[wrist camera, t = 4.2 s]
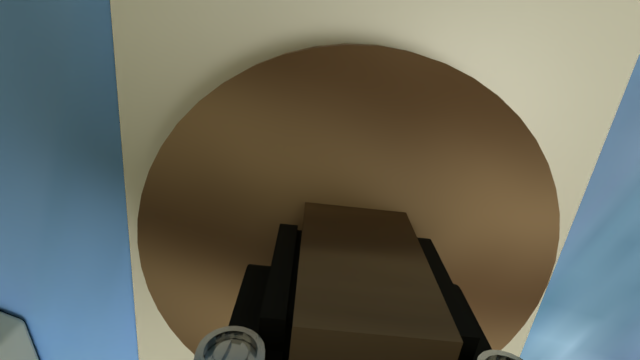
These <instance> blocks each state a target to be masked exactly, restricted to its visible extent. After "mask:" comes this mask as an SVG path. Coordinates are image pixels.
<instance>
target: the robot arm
mask: <svg viewBox="0 0 640 360" xmlns="http://www.w3.org/2000/svg"><path fill="white" fill-rule="evenodd" d="M301 237H302V230H298V225H290V224H280V226H279V230H278V235H277V239H276V244H275V249H274V253H273V258H272V262H271V266H264V265H254V264H248V265H247V268H246V271H245V274H244V277H243V281H242V284H241V287H240V290H239V293H238V296H237V300H236V303H235V306H234V309H233V312H232V316H231V319H230V322H229V325H228V326H225V327H222V328H219V329H216V330H214V331H212V332H211V333H209V334H207V335H206V336H205V337H204V338H203V339H202V340H201V341H200V343H199V345H198V347H197V349H196V352H195V356H194V360H289V352H290V343H291V334H292V325H293V315H294V305H295V296H296V286H297V276H298V266H299V256H300V247H301ZM417 238H418V237H417ZM418 241H419V243H420V245H421V248H422V250H423V252H424V254H425V257H426V259H427V261H428V263H429V266H430V268H431V270H432V273H433V275H434V277H435V279H436V282H437V284H438V286H439V288H440V291H441V293H442V295H443V297H444V300H445V302H446V304H447V307H448V309H449V311H450V313H451V316H452V318H453V320H454V322H455V325H456V327H457V329H458V332H459V334H460V336H461V338H462V341H463V345H462V348H461V351H460V354H459V357H458V360H523V359H521V358H520V357H518V356H516V355H513V354H511V353H509V352H505V351H501V350H492V348H491V346H490V344H489V342H488V340H487V338H486V336H485V335H484V333H483V331H482V329H481V327H480V325H479V323H478V321H477V319H476V317H475V315H474V313H473V311H472V309H471V308H470V306H469V304H468V302H467V300H466V298H465V296H464V294H463V292H462V290H461V289H460V287H459V286H458V285H456V284H453V282H452V280H451V278H450V276H449V274H448V272H447V270H446V268H445V266H444V264H443V262H442V260H441V258H440V256H439V254H438V252H437V250H436V248H435V246H434V244H433V242H432V240H431V239H428V238H418Z"/></svg>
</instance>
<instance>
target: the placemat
mask: <svg viewBox="0 0 640 360" xmlns="http://www.w3.org/2000/svg"><path fill="white" fill-rule="evenodd" d="M110 6H111V19H112V31H113V43H114V56H115V68H116V81H117V93H118V105H119V118H120V130H121V143H122V155H123V167H124V180H125V192H126V205H127V217H128V229H129V242H130V254H131V267H132V279H133V291H134V304H135V316H136V329H137V341H138V353H139V360H194V356H195V355H194V354H193V353H192V352H191V351H190V350H189V349H188V348H187V347H186V346H185V345H184V344H183V343H182V342H181V341H180V340H179V338H178V337H177V336H176V335H175V334H174V332H173V331H172V330H171V329H170V328H169V326H168V325H167V323H166V321H165V320H164V318H163V317H162V315H161V314H160V312H159V311H158V309H157V307H156V305H155V303H154V301H153V299H152V296H151V294H150V292H149V290H148V288H147V284H146V281H145V278H144V275H143V271H142V268H141V263H140V257H139V250H138V244H137V219H138V212H139V206H140V199H141V194H142V191H143V188H144V185H145V181H146V178H147V175H148V172H149V169H150V167H151V165H152V163H153V161H154V159H155V157H156V155H157V153H158V152H159V150H160V148H161V146H162V144H163V143H164V141H165V140H166V139H167V137H168V136H169V134H170V133H171V132H172V130H173V129H174V127H175V126H176V125H177V123H178V122H179V121H180V120H181V119H182V118H183V117H184V116H185V115H186V114H187V113H188V112H189V111H190V110H191V109H192V108H193V107H194V106H195V105H196V104H197V103H198V102H199V101H200V100H201V99H203V98H204V97H205V96H207V95H208V94H209V93H210V92H212V91H213V90H214V89H216V88H217V87H218V86H220V85H221V84H222V83H224V82H226V81H227V80H229V79H231V78H232V77H234V76H236V75H238V74H240V73H241V72H243V71H245V70H247V69H249V68H250V67H252V66H254V65H256V64H258V63H260V62H263V61H266V60H268V59H271V58H273V57H276V56H279V55H281V54H284V53H287V52H292V51H296V50H300V49H304V48H309V47H313V46H321V45H332V44H343V43H351V44H372V45H381V46H386V47H391V48H397V49H402V50H407V51H410V52H413V53H416V54H419V55H422V56H425V57H428V58H431V59H434V60H437V61H440V62H443V63H446V64H448V65H450V66H451V67H453V68H455V69H457V70H459V71H461V72H463V73H465V74H467V75H469V76H471V77H473V78H475V79H476V80H477V81H479V82H480V83H481V84H483V85H484V86H486V87H487V88H488V89H490V90H491V91H492V92H494V93H495V94H497V95H498V96H499V97H500V98H501V99H502V100H503V101H504V102H505V103H506V104H507V105H508V106H509V107H510V108H511V109H512V110H513V111H514V112H515V113H516V114H517V115H518V116H519V117H520V118H521V119H522V121H523V122H524V123H525V125H526V126H527V128H528V129H529V130H530V132H531V133H532V134H533V136H534V137H535V139H536V140H537V142H538V144H539V146H540V148H541V150H542V152H543V154H544V156H545V158H546V160H547V162H548V164H549V167H550V170H551V173H552V177H553V180H554V183H555V186H556V190H557V197H558V204H559V211H560V233H559V243H558V249H557V255H556V261H555V264H554V267H553V270H552V273H553V271H554V268H555V266H556V263H557V261H558V258H559V256H560V253H561V251H562V248H563V246H564V243H565V240H566V238H567V235H568V233H569V230H570V228H571V225H572V223H573V220H574V218H575V215H576V213H577V210H578V208H579V205H580V203H581V200H582V198H583V195H584V192H585V190H586V187H587V185H588V182H589V180H590V177H591V175H592V172H593V170H594V167H595V165H596V162H597V160H598V157H599V155H600V152H601V150H602V147H603V145H604V142H605V139H606V137H607V134H608V132H609V129H610V127H611V124H612V122H613V119H614V117H615V114H616V112H617V109H618V107H619V104H620V102H621V99H622V97H623V94H624V92H625V89H626V86H627V84H628V81H629V79H630V76H631V74H632V71H633V69H634V66H635V64H636V61H637V59H638V56H639V54H640V0H110ZM551 276H552V274H551ZM550 278H551V277H550ZM549 281H550V280H549ZM547 286H548V285H547ZM546 288H547V287H546ZM545 291H546V289H545ZM545 291H544V293H545ZM544 293H543V295H542V297H541V300H540V302H539V304H538V306H537V307H536V309H535V310H534V312H533V313H532V315H531V316H530V318H529V319H528V321H527V322H526V324H525V325H524V326H523V327H522V328H521V330H520V331H519V332H518V333H517V334H516V335H515V337H514V338H513V339H512V340H511V341H510V342H509V343H508V344H507V345H506V346H505V347H504V348H503V349H502V350H501V351H505V352H509V353H511V354H513V355H516V356H518V357H520V354H521V352H522V349H523V346H524V344H525V341H526V339H527V336H528V334H529V331H530V329H531V326H532V324H533V321H534V319H535V316H536V314H537V311H538V309H539V306H540V304H541V301H542V299H543V296H544Z"/></svg>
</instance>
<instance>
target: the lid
mask: <svg viewBox="0 0 640 360" xmlns="http://www.w3.org/2000/svg"><path fill="white" fill-rule="evenodd" d="M280 224H290V225H298V230H302V237H301V247H300V256H299V266H298V276H297V286H296V296H295V305H294V315H293V325H292V334H291V343H290V352H289V360H458V357H459V354H460V351H461V348H462V345H463V341H462V338H461V336H460V334H459V332H458V329H457V327H456V325H455V322H454V320H453V318H452V316H451V313H450V311H449V309H448V307H447V304H446V302H445V300H444V297H443V295H442V293H441V291H440V288H439V286H438V284H437V282H436V279H435V277H434V275H433V273H432V270H431V268H430V266H429V263H428V261H427V259H426V257H425V254H424V252H423V250H422V248H421V245H420V243H419V241H418V238H428V239H431V240H432V242H433V244H434V246H435V248H436V250H437V252H438V254H439V256H440V258H441V260H442V262H443V264H444V266H445V268H446V270H447V272H448V274H449V276H450V278H451V280H452V282H453V284H456V285H458V286H459V287H460V289H461V290H462V292H463V294H464V296H465V298H466V300H467V302H468V304H469V306H470V308H471V309H472V311H473V313H474V315H475V317H476V319H477V321H478V323H479V325H480V327H481V329H482V331H483V333H484V335H485V336H486V338H487V340H488V342H489V344H490V346H491V348H492V350H502V349H503V348H504V347H505V346H506V345H507V344H508V343H509V342H510V341H511V340H512V339H513V338H514V337H515V335H516V334H517V333H518V332H519V331H520V330H521V328H522V327H523V326H524V325H525V324H526V322H527V321H528V319H529V318H530V316H531V315H532V313H533V312H534V310H535V309H536V307H537V306H538V304H539V302H540V300H541V297H542V295H543V293H544V291H545V289H546V287H547V285H548V283H549V280H550V277H551V274H552V270H553V267H554V264H555V261H556V255H557V249H558V243H559V233H560V211H559V204H558V197H557V190H556V186H555V183H554V180H553V177H552V173H551V170H550V167H549V164H548V162H547V160H546V158H545V156H544V154H543V152H542V150H541V148H540V146H539V144H538V142H537V140H536V139H535V137H534V136H533V134H532V133H531V132H530V130H529V129H528V128H527V126H526V125H525V123H524V122H523V121H522V119H521V118H520V117H519V116H518V115H517V114H516V113H515V112H514V111H513V110H512V109H511V108H510V107H509V106H508V105H507V104H506V103H505V102H504V101H503V100H502V99H501V98H500V97H499V96H498V95H497V94H495V93H494V92H492V91H491V90H490V89H488V88H487V87H486V86H484V85H483V84H481V83H480V82H479V81H477V80H476V79H475V78H473V77H471V76H469V75H467V74H465V73H463V72H461V71H459V70H457V69H455V68H453V67H451V66H450V65H448V64H446V63H443V62H440V61H437V60H434V59H431V58H428V57H425V56H422V55H419V54H416V53H413V52H410V51H407V50H402V49H397V48H391V47H386V46H381V45H372V44H351V43H343V44H332V45H321V46H313V47H309V48H304V49H300V50H296V51H292V52H287V53H284V54H281V55H279V56H276V57H273V58H271V59H268V60H266V61H263V62H260V63H258V64H256V65H254V66H252V67H250V68H249V69H247V70H245V71H243V72H241V73H240V74H238V75H236V76H234V77H232V78H231V79H229V80H227V81H226V82H224V83H222V84H221V85H220V86H218V87H217V88H216V89H214V90H213V91H212V92H210V93H209V94H208V95H207V96H205V97H204V98H203V99H201V100H200V101H199V102H198V103H197V104H196V105H195V106H194V107H193V108H192V109H191V110H190V111H189V112H188V113H187V114H186V115H185V116H184V117H183V118H182V119H181V120H180V121H179V122H178V123H177V125H176V126H175V127H174V129H173V130H172V132H171V133H170V134H169V136H168V137H167V139H166V140H165V141H164V143H163V144H162V146H161V148H160V150H159V152H158V153H157V155H156V157H155V159H154V161H153V163H152V165H151V167H150V169H149V172H148V175H147V178H146V181H145V185H144V188H143V191H142V194H141V199H140V206H139V212H138V219H137V244H138V250H139V257H140V263H141V268H142V271H143V275H144V278H145V281H146V284H147V288H148V290H149V292H150V294H151V296H152V299H153V301H154V303H155V305H156V307H157V309H158V311H159V312H160V314H161V315H162V317H163V318H164V320H165V321H166V323H167V325H168V326H169V328H170V329H171V330H172V331H173V332H174V334H175V335H176V336H177V337H178V338H179V340H180V341H181V342H182V343H183V344H184V345H185V346H186V347H187V348H188V349H189V350H190V351H191V352H192V353H193V354H194V355H195V352H196V349H197V347H198V345H199V343H200V341H201V340H202V339H203V338H204V337H205V336H206V335H207V334H209V333H211V332H212V331H214V330H216V329H219V328H222V327H225V326H228V325H229V322H230V319H231V316H232V312H233V309H234V306H235V303H236V300H237V296H238V293H239V290H240V287H241V284H242V281H243V277H244V274H245V271H246V268H247V265H248V264H254V265H264V266H271V262H272V258H273V253H274V249H275V244H276V239H277V235H278V230H279V226H280ZM417 237H418V238H417Z"/></svg>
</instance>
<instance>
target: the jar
mask: <svg viewBox="0 0 640 360" xmlns="http://www.w3.org/2000/svg"><path fill="white" fill-rule="evenodd" d="M0 360H39V358H38V355H37V353H36V350H35V348H34V345H33V343H32V340H31V337H30V335H29V332H28V330H27V327H26V325H25V322H24V321H23V320H21V319H19V318H16V317H13V316H11V315H8V314H6V313H3V312H0Z"/></svg>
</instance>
